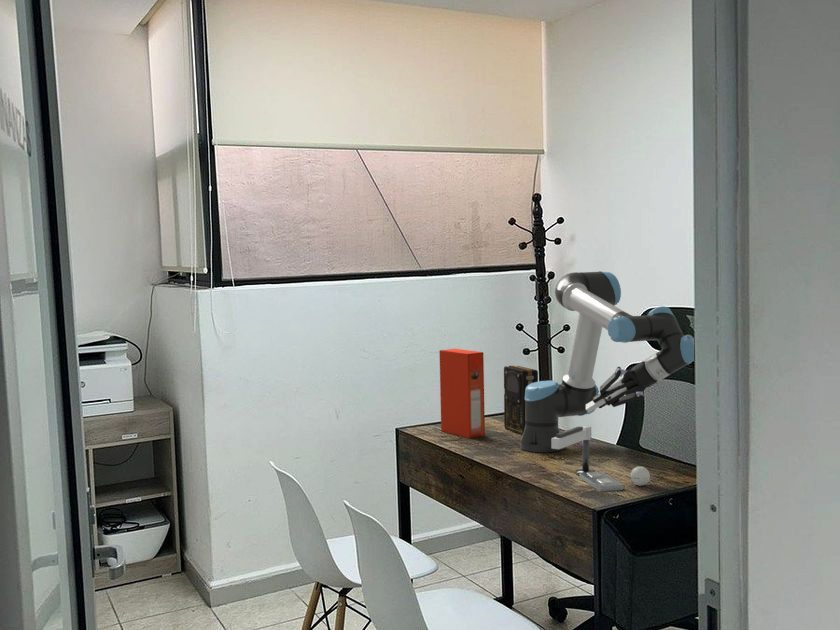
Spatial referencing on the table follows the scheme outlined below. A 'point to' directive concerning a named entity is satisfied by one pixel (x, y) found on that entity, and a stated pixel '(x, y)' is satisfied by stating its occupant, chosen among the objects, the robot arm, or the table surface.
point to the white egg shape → (640, 476)
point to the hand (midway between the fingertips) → (587, 408)
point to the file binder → (462, 392)
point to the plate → (600, 481)
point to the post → (585, 458)
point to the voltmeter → (516, 396)
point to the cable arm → (571, 437)
